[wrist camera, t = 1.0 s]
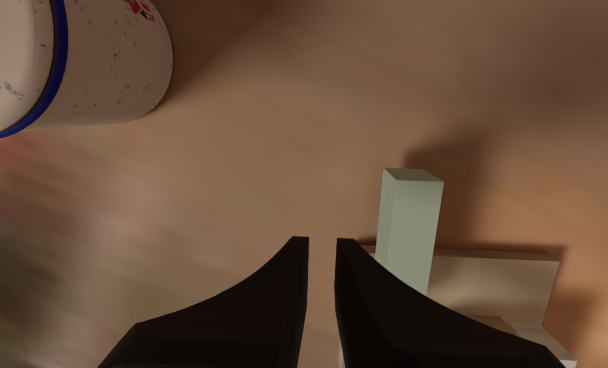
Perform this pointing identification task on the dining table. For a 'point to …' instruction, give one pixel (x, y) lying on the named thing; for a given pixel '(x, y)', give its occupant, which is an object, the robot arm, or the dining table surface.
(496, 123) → the dining table surface
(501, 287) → the cream shallow tray
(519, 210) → the dining table surface
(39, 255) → the dining table surface
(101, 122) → the teacup with lid
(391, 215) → the green rectangular block
